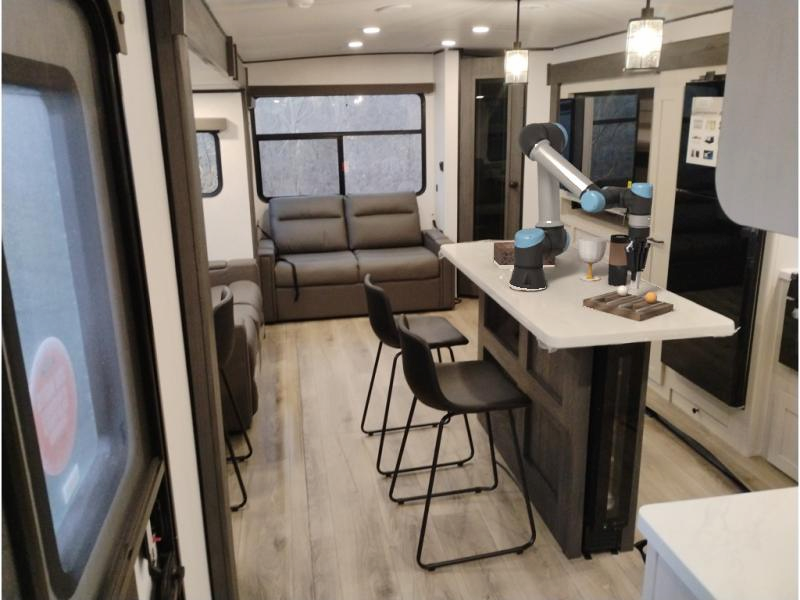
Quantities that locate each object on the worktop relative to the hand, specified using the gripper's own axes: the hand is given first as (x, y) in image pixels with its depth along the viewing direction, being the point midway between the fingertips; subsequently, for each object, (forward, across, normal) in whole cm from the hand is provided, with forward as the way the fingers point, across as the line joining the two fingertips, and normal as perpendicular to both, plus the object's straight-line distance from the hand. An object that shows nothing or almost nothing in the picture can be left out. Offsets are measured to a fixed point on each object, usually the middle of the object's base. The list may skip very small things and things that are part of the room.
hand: (634, 288), depth 244 cm
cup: (+4, +13, +31) cm, 34 cm away
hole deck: (+4, -12, -6) cm, 14 cm away
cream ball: (0, -7, 0) cm, 7 cm away
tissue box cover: (+5, +11, +68) cm, 69 cm away
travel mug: (+4, +14, +18) cm, 23 cm away
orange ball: (0, -7, -12) cm, 14 cm away
